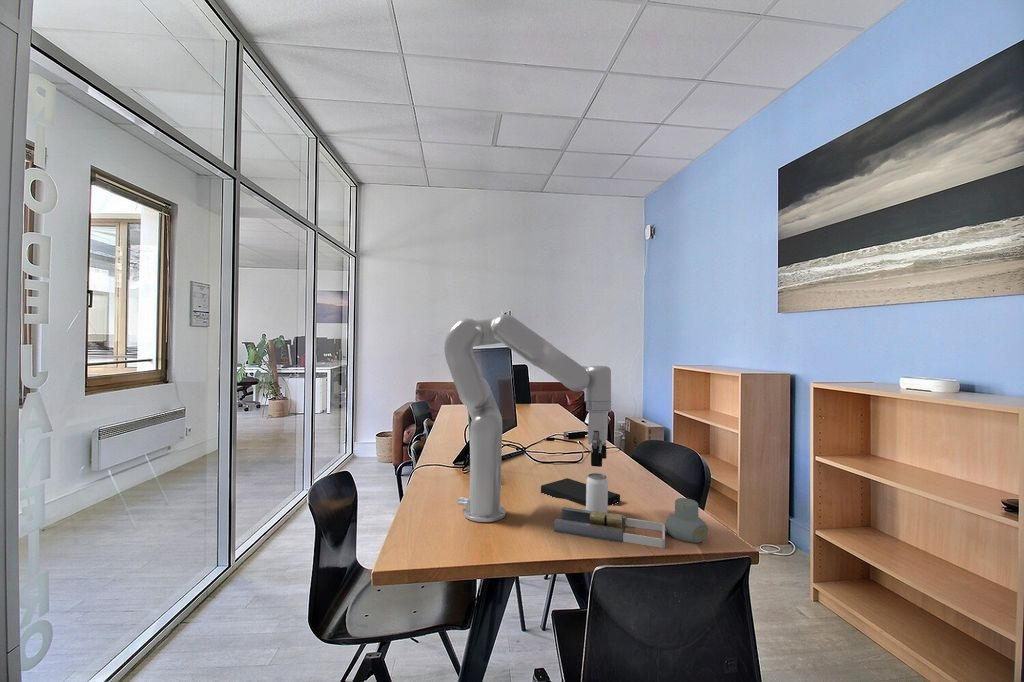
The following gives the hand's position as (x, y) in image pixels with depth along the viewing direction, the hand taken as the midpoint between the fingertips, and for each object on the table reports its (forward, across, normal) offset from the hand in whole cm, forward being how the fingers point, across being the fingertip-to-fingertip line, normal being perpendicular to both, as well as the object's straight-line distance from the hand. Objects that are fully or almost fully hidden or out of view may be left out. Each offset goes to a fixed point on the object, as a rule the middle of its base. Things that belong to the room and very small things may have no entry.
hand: (598, 462), depth 131 cm
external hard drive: (+17, -14, -9) cm, 24 cm away
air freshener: (+17, +7, +24) cm, 30 cm away
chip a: (+15, +12, +1) cm, 20 cm away
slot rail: (+16, +12, -1) cm, 20 cm away
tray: (+16, +12, +14) cm, 25 cm away
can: (+16, 0, -1) cm, 17 cm away
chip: (+15, +12, +6) cm, 20 cm away
